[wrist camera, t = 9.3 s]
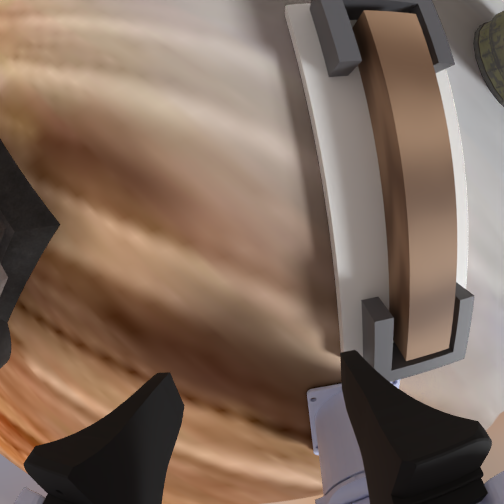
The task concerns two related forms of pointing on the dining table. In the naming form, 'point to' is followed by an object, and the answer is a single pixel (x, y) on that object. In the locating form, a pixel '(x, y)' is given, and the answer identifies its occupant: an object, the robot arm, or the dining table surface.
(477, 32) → the olive stone pillar
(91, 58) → the dining table surface
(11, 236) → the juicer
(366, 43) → the walnut slat
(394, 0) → the end cap cradle
